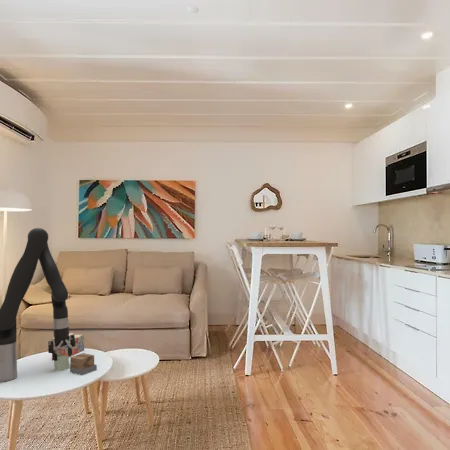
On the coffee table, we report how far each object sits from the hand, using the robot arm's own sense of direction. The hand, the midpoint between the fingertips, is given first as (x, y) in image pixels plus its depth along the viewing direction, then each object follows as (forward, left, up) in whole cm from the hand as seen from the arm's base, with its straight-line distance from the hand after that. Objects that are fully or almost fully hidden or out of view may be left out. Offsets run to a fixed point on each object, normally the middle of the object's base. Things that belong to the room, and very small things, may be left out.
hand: (62, 358), depth 212 cm
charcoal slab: (+3, -12, -6) cm, 14 cm away
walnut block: (+2, -12, -3) cm, 13 cm away
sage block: (0, 0, -6) cm, 6 cm away
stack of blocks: (+18, +19, -6) cm, 27 cm away
